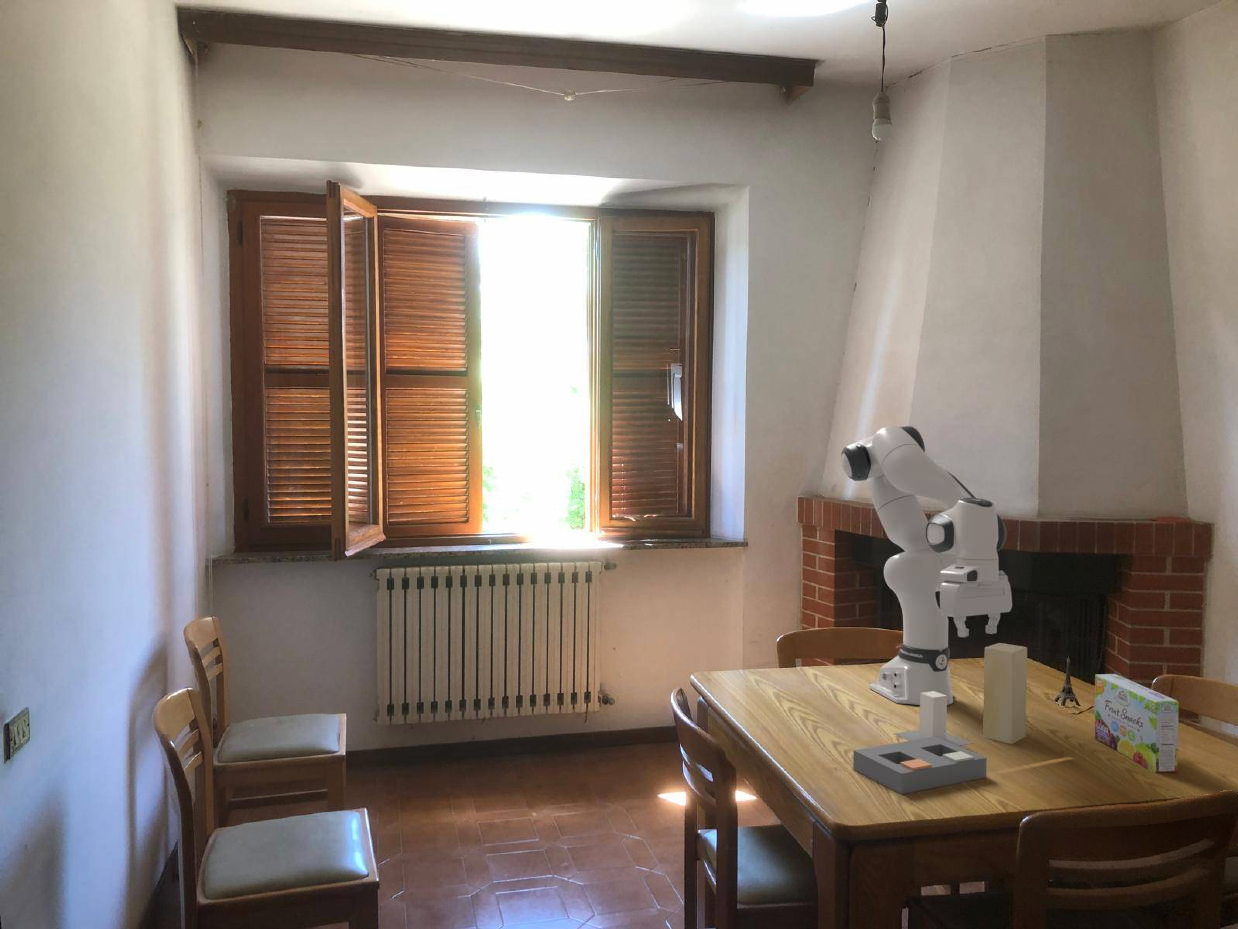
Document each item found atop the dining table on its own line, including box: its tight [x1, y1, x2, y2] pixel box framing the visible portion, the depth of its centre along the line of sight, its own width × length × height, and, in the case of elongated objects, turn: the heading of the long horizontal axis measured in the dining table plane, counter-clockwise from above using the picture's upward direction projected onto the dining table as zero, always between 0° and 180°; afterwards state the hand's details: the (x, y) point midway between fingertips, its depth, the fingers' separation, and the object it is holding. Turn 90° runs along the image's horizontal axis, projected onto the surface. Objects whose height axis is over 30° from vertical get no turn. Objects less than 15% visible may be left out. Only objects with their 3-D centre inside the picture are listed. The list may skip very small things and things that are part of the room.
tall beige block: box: [982, 642, 1028, 745], centre depth 207 cm, size 8×7×21 cm
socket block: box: [852, 736, 988, 795], centre depth 185 cm, size 14×22×4 cm, turn 115°
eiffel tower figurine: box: [1052, 654, 1081, 706], centre depth 234 cm, size 15×10×13 cm
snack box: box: [1094, 673, 1180, 774], centre depth 197 cm, size 21×6×15 cm, turn 5°
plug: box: [919, 691, 948, 740], centre depth 205 cm, size 4×4×10 cm
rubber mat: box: [894, 728, 974, 747], centre depth 205 cm, size 12×12×1 cm
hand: (977, 635), depth 200 cm, fingers open, 8 cm apart
